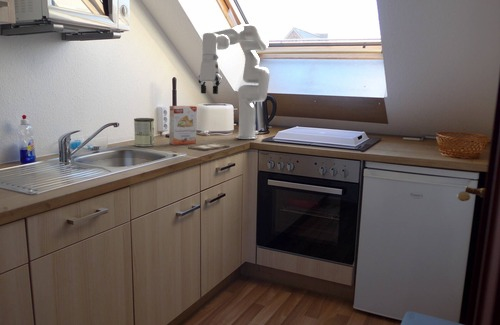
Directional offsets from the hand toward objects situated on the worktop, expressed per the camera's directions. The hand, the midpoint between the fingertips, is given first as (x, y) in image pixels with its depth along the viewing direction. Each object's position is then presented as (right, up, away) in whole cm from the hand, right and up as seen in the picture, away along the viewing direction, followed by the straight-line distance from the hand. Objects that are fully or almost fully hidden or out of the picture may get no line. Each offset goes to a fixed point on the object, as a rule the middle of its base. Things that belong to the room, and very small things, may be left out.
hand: (209, 93), depth 231 cm
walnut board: (-1, -28, +5) cm, 28 cm away
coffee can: (-35, -26, +9) cm, 45 cm away
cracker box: (-16, -25, +17) cm, 35 cm away
